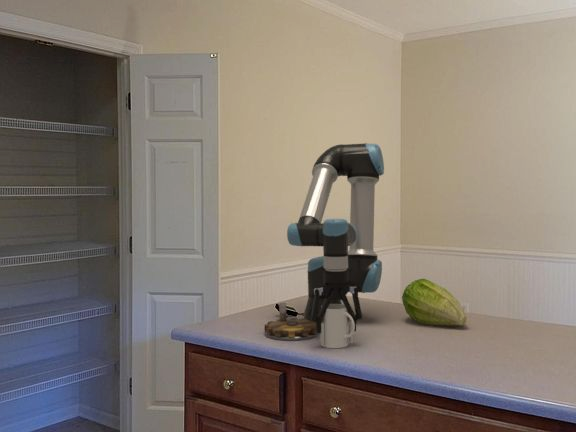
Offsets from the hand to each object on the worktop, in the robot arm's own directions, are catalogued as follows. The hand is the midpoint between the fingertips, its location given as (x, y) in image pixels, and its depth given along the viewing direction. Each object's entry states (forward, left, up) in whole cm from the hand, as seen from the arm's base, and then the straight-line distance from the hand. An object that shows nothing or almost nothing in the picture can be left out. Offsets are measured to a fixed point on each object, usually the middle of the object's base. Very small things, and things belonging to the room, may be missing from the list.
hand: (336, 342), depth 181 cm
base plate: (+11, -18, -1) cm, 21 cm away
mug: (-1, 0, -1) cm, 1 cm away
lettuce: (-40, -19, -1) cm, 45 cm away
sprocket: (+11, -18, 0) cm, 21 cm away
